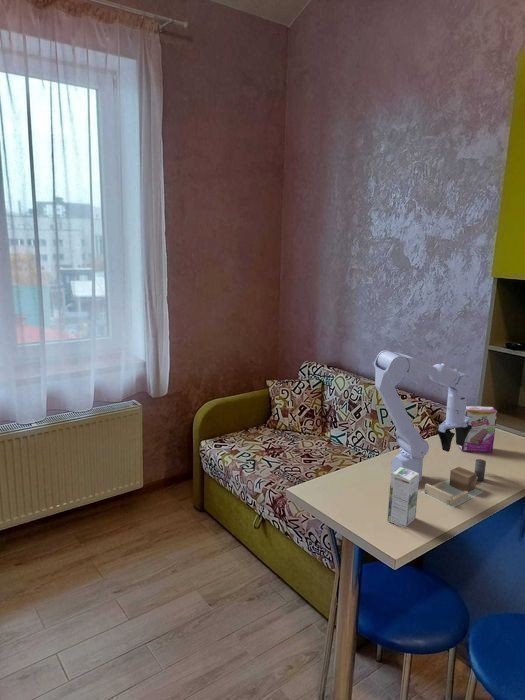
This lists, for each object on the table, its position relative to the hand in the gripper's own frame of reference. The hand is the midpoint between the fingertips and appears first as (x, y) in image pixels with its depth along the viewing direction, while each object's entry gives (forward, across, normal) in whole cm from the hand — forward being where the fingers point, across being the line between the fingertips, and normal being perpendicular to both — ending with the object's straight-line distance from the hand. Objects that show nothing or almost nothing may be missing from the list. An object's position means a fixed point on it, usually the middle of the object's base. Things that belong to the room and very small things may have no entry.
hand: (452, 447), depth 160 cm
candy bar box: (+10, +25, +6) cm, 28 cm away
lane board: (+9, -12, -8) cm, 17 cm away
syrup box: (+10, -36, -9) cm, 38 cm away
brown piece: (+8, -2, -8) cm, 12 cm away
